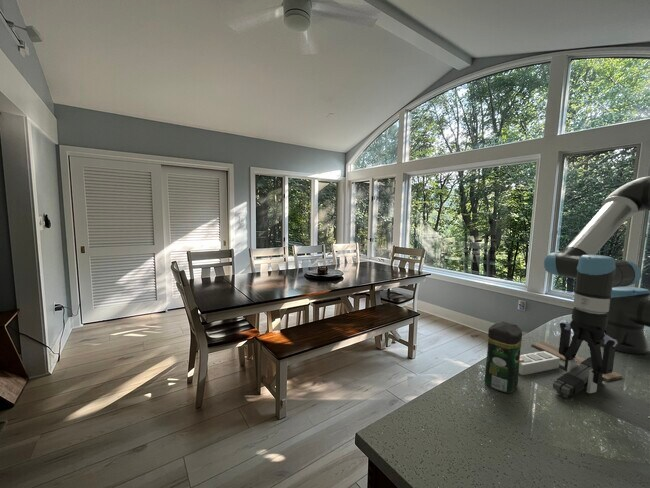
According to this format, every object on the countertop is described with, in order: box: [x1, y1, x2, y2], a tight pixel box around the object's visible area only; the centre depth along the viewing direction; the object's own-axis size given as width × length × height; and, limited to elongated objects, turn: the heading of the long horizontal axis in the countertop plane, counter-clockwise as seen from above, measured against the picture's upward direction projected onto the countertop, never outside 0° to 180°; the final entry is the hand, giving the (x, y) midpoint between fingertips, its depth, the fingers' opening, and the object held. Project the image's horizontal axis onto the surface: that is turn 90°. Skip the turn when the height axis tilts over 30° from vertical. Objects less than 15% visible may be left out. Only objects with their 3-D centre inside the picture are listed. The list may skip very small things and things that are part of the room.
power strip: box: [518, 350, 567, 376], centre depth 92 cm, size 18×12×4 cm, turn 107°
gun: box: [552, 356, 604, 399], centre depth 84 cm, size 4×20×10 cm, turn 114°
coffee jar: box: [483, 321, 523, 394], centre depth 85 cm, size 10×8×19 cm
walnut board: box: [531, 341, 623, 382], centre depth 101 cm, size 7×24×1 cm, turn 17°
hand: (580, 386), depth 84 cm, fingers closed on gun, 5 cm apart
